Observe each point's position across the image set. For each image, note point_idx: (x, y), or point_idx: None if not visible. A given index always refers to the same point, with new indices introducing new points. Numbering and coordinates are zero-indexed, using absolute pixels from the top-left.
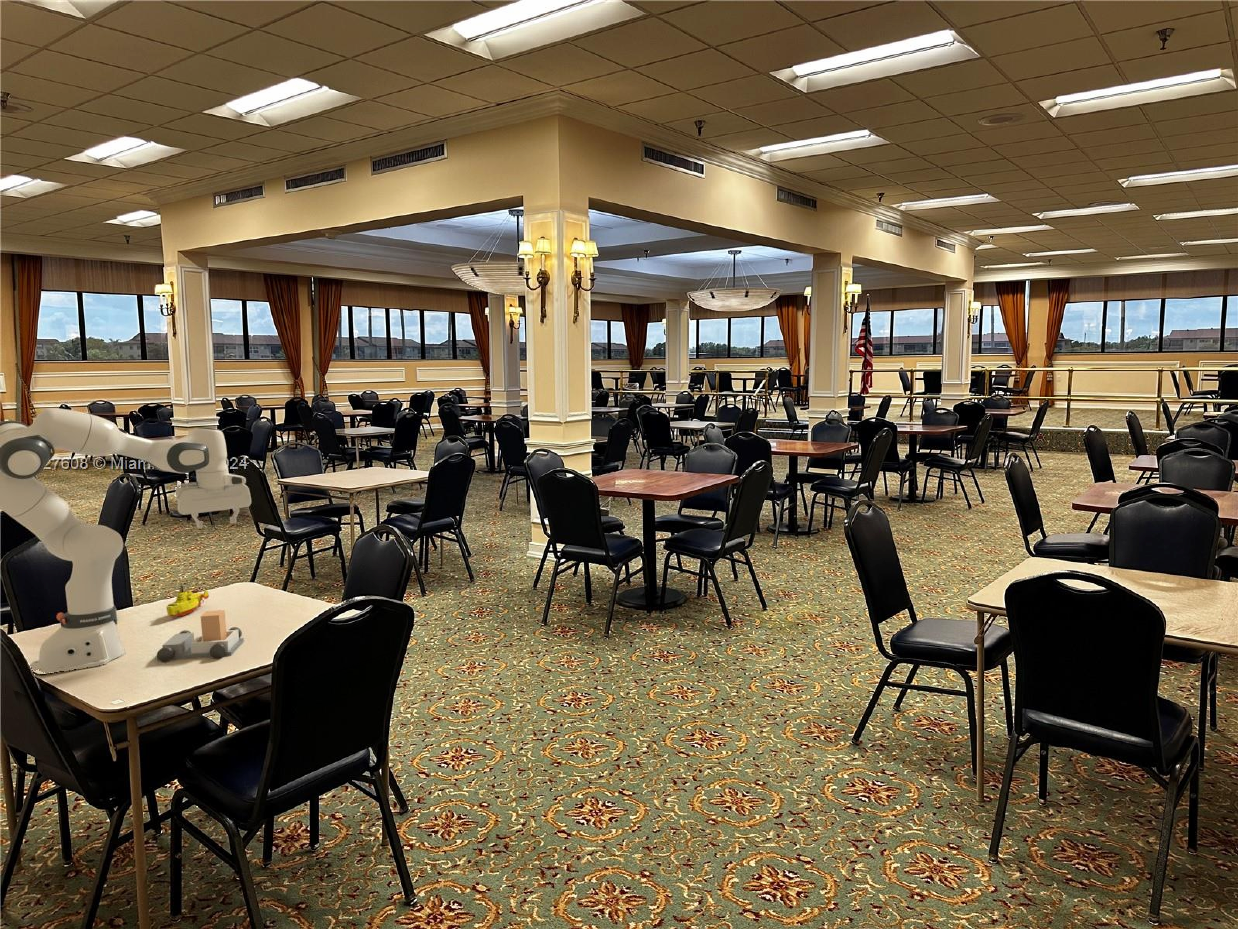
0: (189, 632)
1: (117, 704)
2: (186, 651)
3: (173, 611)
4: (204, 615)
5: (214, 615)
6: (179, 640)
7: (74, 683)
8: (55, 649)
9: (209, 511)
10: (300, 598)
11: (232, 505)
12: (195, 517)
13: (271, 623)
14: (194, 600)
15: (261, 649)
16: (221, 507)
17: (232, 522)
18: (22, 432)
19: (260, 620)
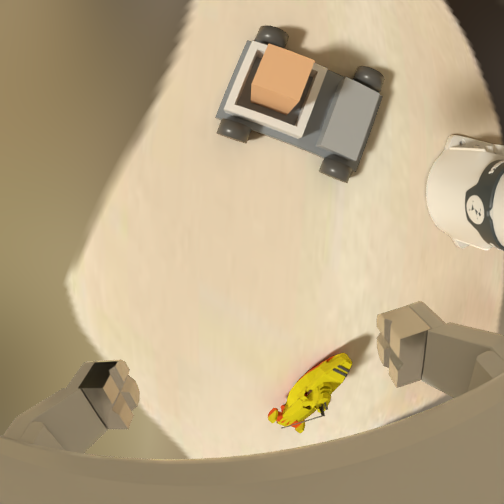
0: (327, 169)
1: None
2: (331, 93)
3: (338, 357)
4: (305, 62)
5: (279, 47)
6: (349, 104)
7: (471, 78)
8: None
9: (364, 432)
10: None
11: (6, 466)
12: (494, 343)
13: (153, 224)
14: (296, 397)
15: (188, 50)
16: (141, 487)
17: (112, 361)
18: None
19: (174, 261)
